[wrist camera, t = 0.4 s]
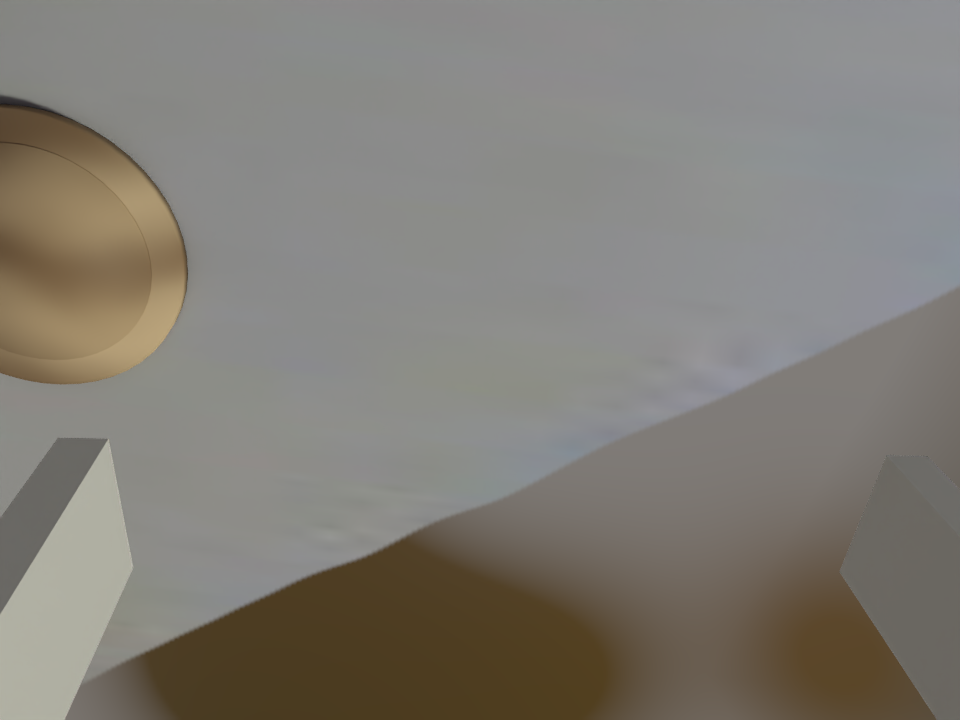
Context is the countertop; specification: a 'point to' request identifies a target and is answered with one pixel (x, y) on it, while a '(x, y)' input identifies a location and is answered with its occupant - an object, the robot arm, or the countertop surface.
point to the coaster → (80, 253)
